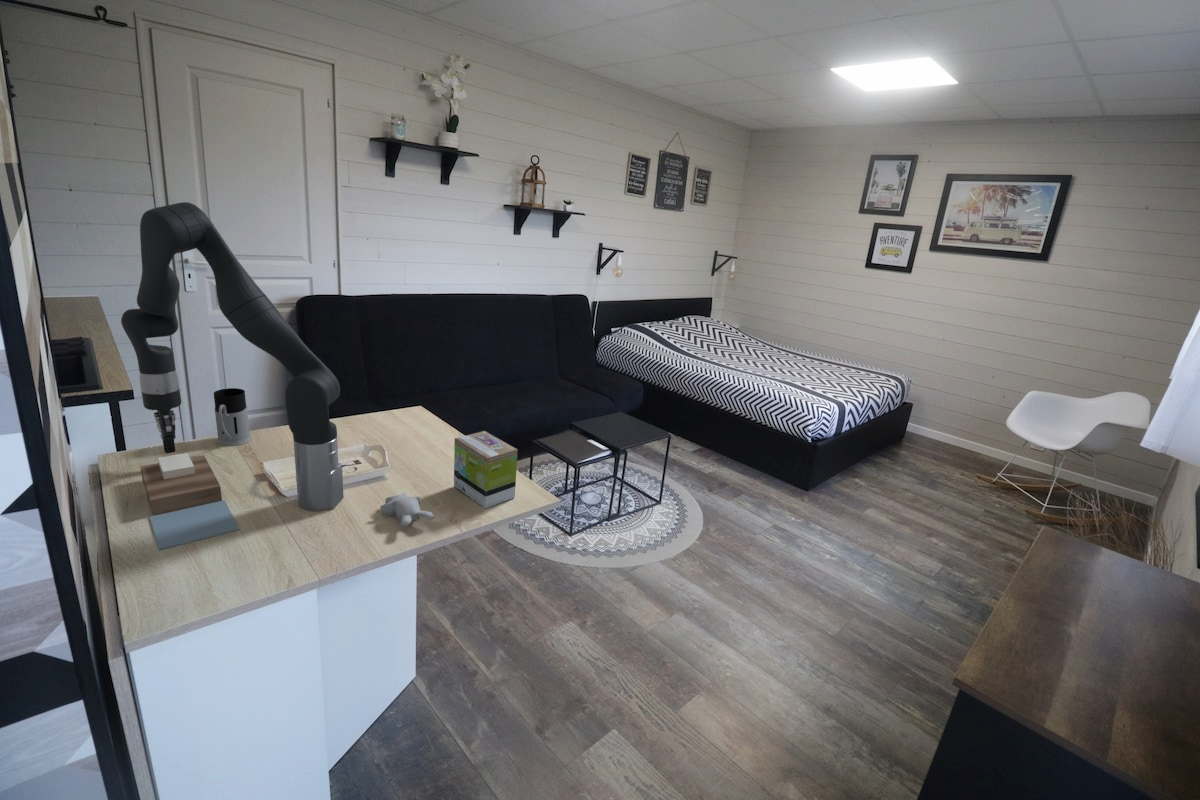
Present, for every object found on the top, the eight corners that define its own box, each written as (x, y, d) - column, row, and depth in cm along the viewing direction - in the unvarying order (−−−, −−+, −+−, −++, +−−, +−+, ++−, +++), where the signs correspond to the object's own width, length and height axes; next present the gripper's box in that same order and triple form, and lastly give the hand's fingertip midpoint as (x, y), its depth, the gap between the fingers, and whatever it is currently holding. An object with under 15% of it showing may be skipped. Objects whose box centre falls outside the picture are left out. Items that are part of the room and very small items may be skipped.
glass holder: (255, 434, 169) (250, 387, 164) (242, 453, 156) (237, 403, 151) (221, 435, 166) (216, 387, 161) (206, 454, 153) (199, 403, 148)
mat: (150, 517, 123) (149, 516, 123) (224, 501, 132) (224, 500, 132) (159, 550, 112) (158, 548, 112) (239, 529, 122) (239, 528, 122)
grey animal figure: (411, 486, 140) (437, 505, 129) (412, 505, 141) (438, 525, 131) (373, 495, 134) (398, 516, 123) (374, 514, 135) (399, 537, 124)
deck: (142, 480, 137) (140, 466, 136) (206, 469, 146) (204, 455, 144) (152, 516, 123) (150, 500, 122) (222, 500, 132) (220, 485, 131)
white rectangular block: (158, 465, 137) (157, 457, 136) (188, 460, 141) (187, 452, 140) (164, 479, 131) (162, 471, 130) (195, 473, 135) (194, 466, 134)
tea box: (452, 487, 150) (453, 436, 145) (483, 477, 157) (485, 429, 153) (484, 509, 141) (487, 456, 136) (516, 498, 148) (519, 447, 143)
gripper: (138, 382, 140) (148, 445, 145) (144, 397, 131) (154, 464, 136) (175, 379, 145) (183, 440, 150) (183, 393, 136) (192, 458, 141)
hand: (170, 451), depth 143 cm, fingers closed
